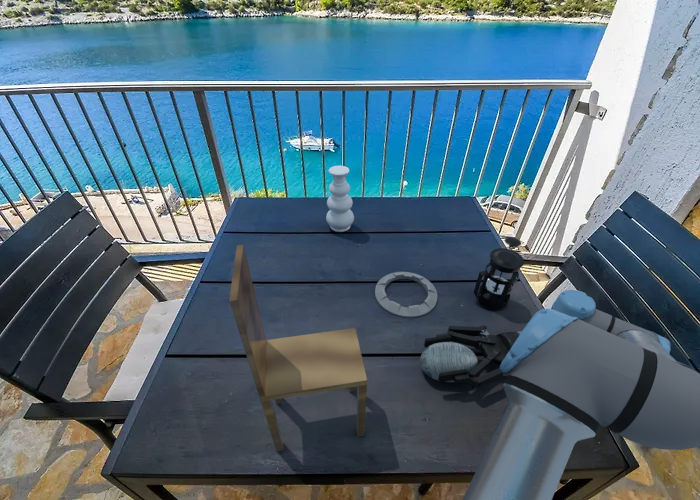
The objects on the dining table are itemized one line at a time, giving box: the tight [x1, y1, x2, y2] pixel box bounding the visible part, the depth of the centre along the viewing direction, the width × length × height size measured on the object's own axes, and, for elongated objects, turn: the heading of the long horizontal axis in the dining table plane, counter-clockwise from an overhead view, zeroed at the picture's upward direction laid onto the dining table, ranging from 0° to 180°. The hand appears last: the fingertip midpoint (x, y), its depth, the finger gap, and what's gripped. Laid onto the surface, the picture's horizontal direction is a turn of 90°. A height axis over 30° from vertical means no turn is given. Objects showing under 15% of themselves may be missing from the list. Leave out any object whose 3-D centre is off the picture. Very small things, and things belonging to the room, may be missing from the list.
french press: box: [472, 236, 525, 312], centre depth 100 cm, size 12×9×23 cm
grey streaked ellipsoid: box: [419, 341, 479, 383], centre depth 86 cm, size 14×10×10 cm
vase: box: [325, 165, 355, 233], centre depth 131 cm, size 11×11×25 cm
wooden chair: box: [228, 244, 368, 452], centre depth 65 cm, size 12×19×46 cm, turn 100°
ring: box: [374, 271, 438, 319], centre depth 109 cm, size 19×19×2 cm
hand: (431, 359), depth 84 cm, fingers closed on grey streaked ellipsoid, 9 cm apart
